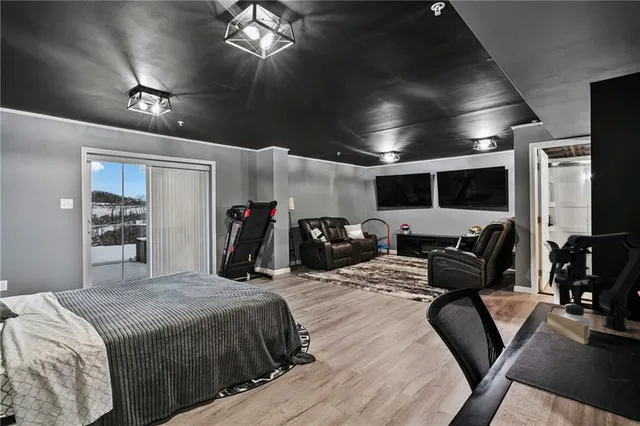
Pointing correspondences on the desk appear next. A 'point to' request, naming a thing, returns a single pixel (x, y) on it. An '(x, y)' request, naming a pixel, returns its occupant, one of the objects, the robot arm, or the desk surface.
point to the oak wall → (568, 327)
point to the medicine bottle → (576, 314)
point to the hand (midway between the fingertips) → (577, 299)
